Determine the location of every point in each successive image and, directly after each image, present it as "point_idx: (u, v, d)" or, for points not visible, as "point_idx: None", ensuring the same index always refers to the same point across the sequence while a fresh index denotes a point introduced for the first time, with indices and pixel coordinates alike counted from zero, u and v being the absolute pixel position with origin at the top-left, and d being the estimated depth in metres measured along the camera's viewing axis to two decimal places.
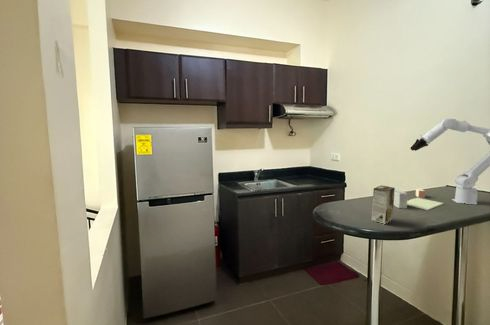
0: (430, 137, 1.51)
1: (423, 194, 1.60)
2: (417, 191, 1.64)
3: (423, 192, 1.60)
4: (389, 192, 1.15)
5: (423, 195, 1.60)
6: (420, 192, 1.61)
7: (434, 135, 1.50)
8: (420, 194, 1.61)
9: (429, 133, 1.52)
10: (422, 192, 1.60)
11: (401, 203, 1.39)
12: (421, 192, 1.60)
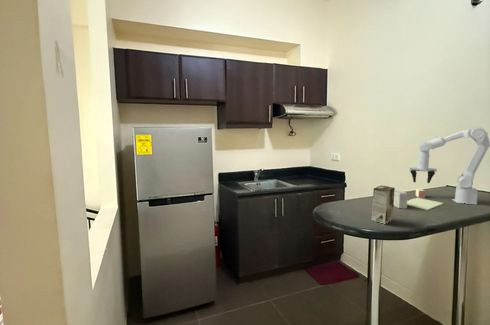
0: None
1: (423, 194, 1.60)
2: (417, 191, 1.64)
3: (423, 192, 1.60)
4: (389, 192, 1.15)
5: (423, 195, 1.60)
6: (420, 192, 1.61)
7: (418, 162, 1.61)
8: (420, 194, 1.61)
9: None
10: (422, 192, 1.60)
11: (401, 203, 1.39)
12: (421, 192, 1.60)
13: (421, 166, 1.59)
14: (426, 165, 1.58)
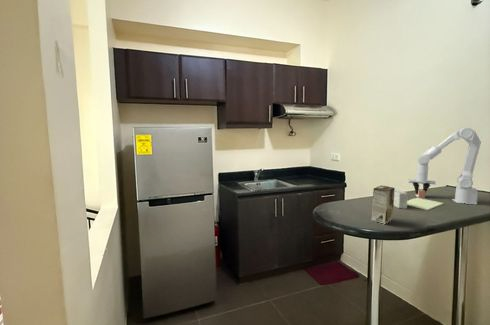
0: (416, 177, 1.63)
1: (423, 194, 1.60)
2: None
3: (423, 192, 1.60)
4: (389, 192, 1.15)
5: (423, 195, 1.60)
6: (420, 192, 1.61)
7: (417, 174, 1.62)
8: (420, 194, 1.61)
9: None
10: (422, 192, 1.60)
11: (401, 203, 1.39)
12: (421, 192, 1.60)
13: (420, 178, 1.60)
14: (425, 177, 1.59)
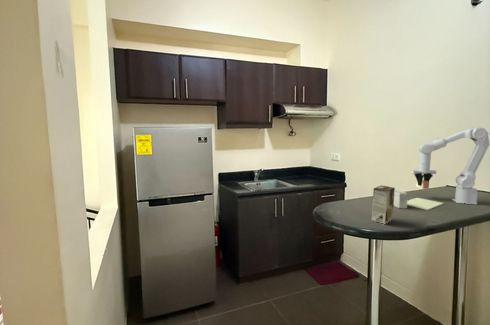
0: (420, 168, 1.57)
1: (427, 184, 1.56)
2: None
3: (427, 182, 1.55)
4: (389, 192, 1.15)
5: (427, 185, 1.56)
6: (425, 183, 1.55)
7: (420, 164, 1.56)
8: (425, 185, 1.55)
9: None
10: (426, 182, 1.55)
11: (401, 203, 1.39)
12: (426, 183, 1.55)
13: (424, 169, 1.55)
14: (429, 167, 1.55)
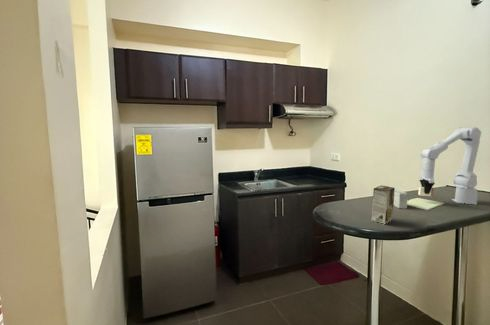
0: (429, 175, 1.45)
1: None
2: None
3: None
4: (389, 192, 1.15)
5: None
6: None
7: (431, 171, 1.44)
8: None
9: (425, 172, 1.46)
10: None
11: (401, 203, 1.39)
12: None
13: (433, 175, 1.45)
14: None
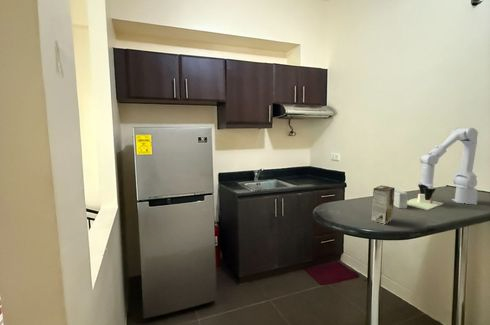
0: (429, 180, 1.45)
1: None
2: None
3: None
4: (389, 192, 1.15)
5: None
6: None
7: (430, 177, 1.45)
8: None
9: (424, 178, 1.46)
10: None
11: (401, 203, 1.39)
12: None
13: (432, 181, 1.46)
14: None
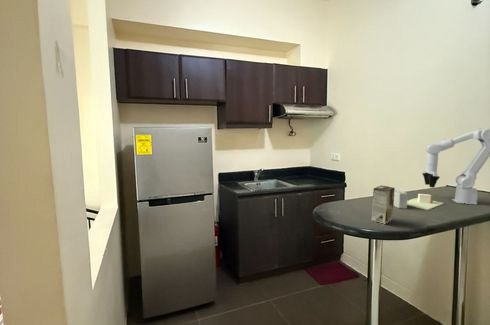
0: (433, 169, 1.53)
1: None
2: (425, 197, 1.48)
3: None
4: (389, 192, 1.15)
5: None
6: None
7: (434, 165, 1.53)
8: None
9: (429, 166, 1.54)
10: None
11: (401, 203, 1.39)
12: None
13: (436, 169, 1.54)
14: None
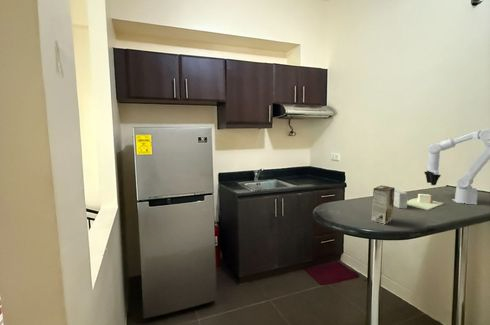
0: (434, 167, 1.59)
1: None
2: (425, 197, 1.48)
3: None
4: (389, 192, 1.15)
5: None
6: None
7: (436, 164, 1.58)
8: None
9: (430, 165, 1.60)
10: None
11: (401, 203, 1.39)
12: None
13: (438, 167, 1.59)
14: None
